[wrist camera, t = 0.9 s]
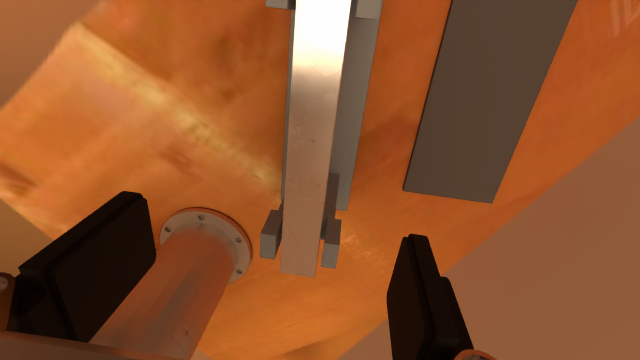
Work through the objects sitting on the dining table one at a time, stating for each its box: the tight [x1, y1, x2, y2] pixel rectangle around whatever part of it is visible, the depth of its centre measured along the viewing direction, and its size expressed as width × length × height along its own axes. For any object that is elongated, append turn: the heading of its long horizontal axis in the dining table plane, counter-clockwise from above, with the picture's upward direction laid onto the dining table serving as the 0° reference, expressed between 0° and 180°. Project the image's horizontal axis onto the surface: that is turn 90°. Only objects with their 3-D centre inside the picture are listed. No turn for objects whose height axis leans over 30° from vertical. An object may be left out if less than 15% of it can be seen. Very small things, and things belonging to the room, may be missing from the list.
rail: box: [280, 0, 352, 278], centre depth 23 cm, size 24×3×3 cm, turn 174°
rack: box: [260, 0, 383, 269], centre depth 27 cm, size 25×8×14 cm, turn 174°
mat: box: [403, 0, 578, 204], centre depth 30 cm, size 25×10×1 cm, turn 174°
